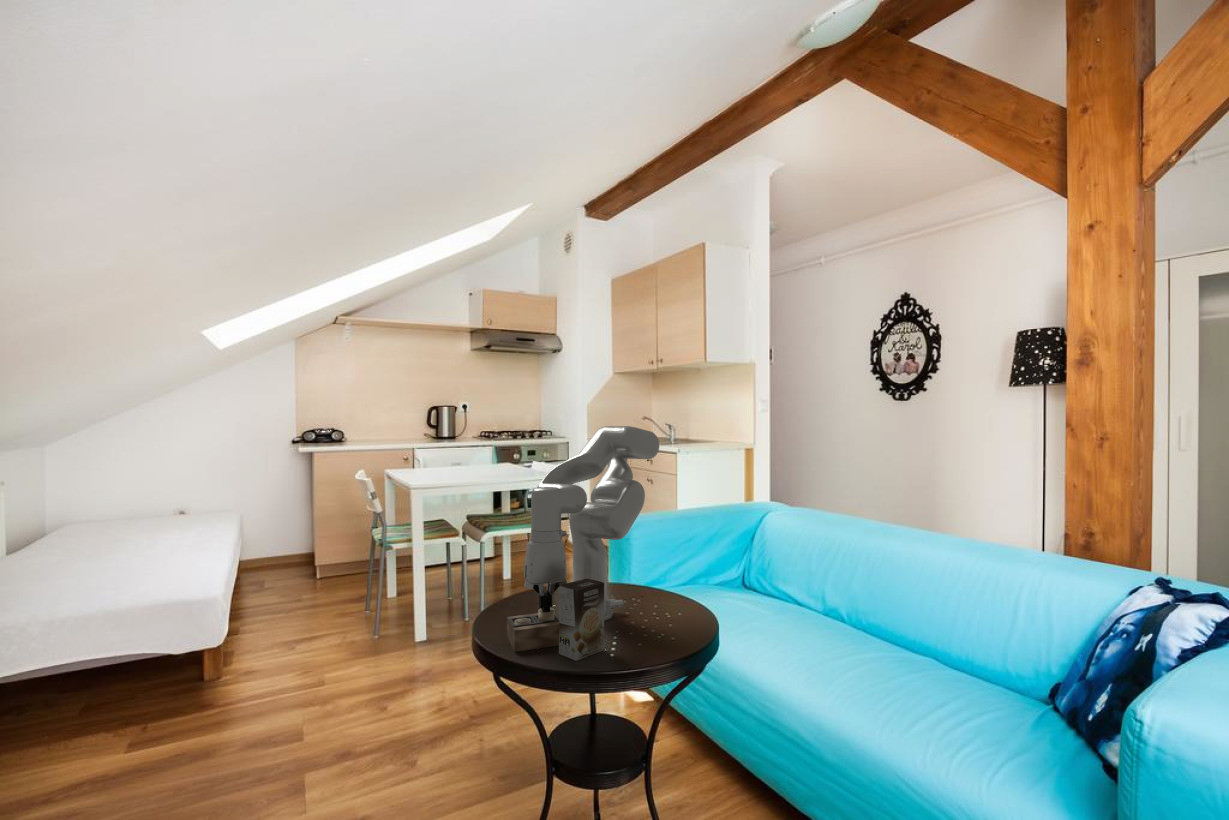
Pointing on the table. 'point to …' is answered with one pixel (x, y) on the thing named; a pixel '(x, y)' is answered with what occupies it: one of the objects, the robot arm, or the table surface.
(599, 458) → the robot arm
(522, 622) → the peg outer
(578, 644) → the cookie box
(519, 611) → the table surface
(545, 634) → the press block
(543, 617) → the peg inner
